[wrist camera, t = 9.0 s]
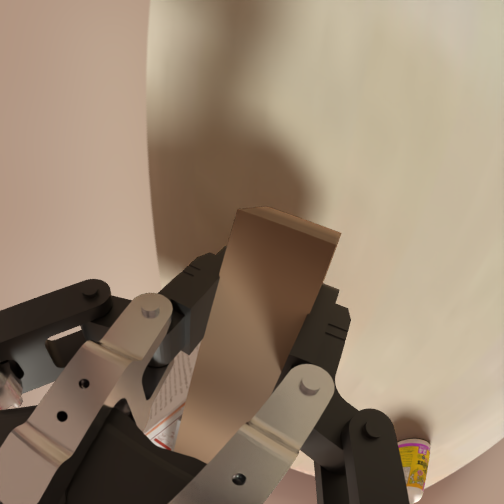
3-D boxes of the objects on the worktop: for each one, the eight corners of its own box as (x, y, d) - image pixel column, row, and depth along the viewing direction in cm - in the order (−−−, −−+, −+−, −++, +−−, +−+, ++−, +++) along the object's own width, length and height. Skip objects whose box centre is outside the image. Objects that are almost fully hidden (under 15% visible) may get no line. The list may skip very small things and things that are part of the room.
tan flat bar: (243, 198, 12) (208, 199, 9) (366, 242, 11) (369, 257, 8) (172, 462, 17) (150, 488, 14) (237, 494, 15) (220, 525, 13)
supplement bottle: (433, 450, 34) (421, 518, 24) (397, 455, 38) (381, 520, 28) (426, 434, 33) (413, 509, 23) (387, 440, 37) (368, 511, 27)
